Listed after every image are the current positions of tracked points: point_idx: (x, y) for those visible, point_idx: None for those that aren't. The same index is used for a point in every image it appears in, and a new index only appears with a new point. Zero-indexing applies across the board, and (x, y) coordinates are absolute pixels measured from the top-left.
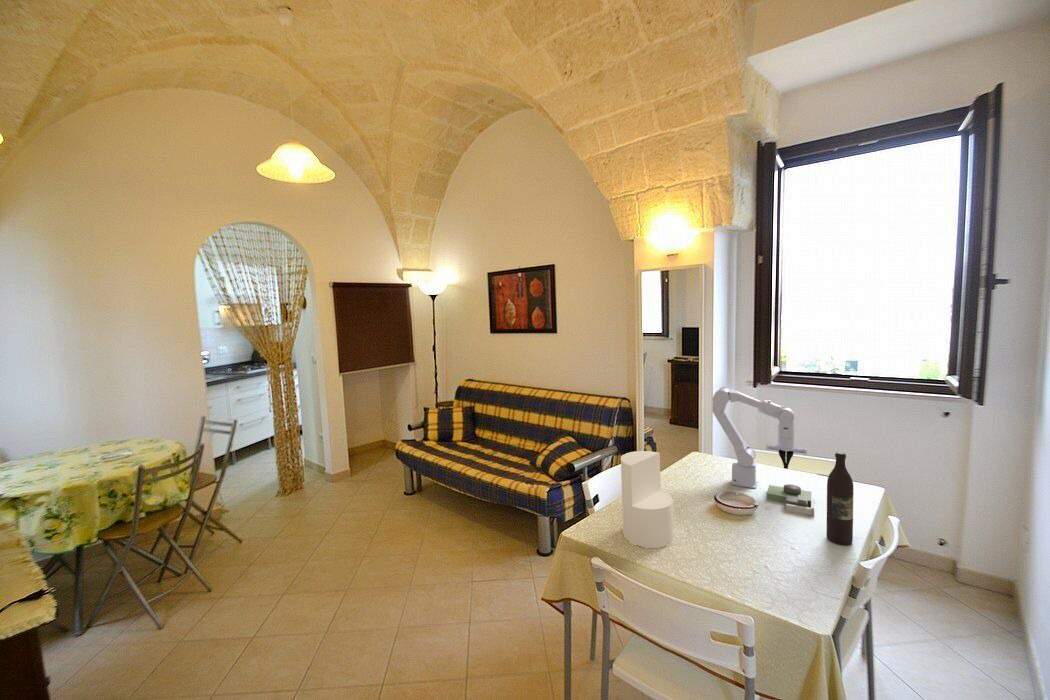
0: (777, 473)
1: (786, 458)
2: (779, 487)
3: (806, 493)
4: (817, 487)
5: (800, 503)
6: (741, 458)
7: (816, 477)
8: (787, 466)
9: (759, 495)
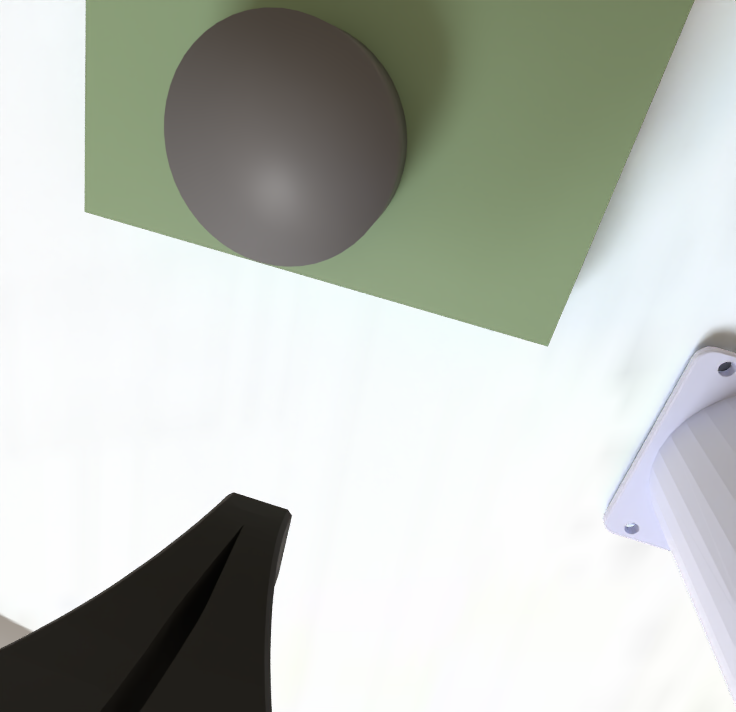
0: (350, 697)
1: (116, 684)
2: (432, 279)
3: (136, 137)
4: (75, 457)
5: None
6: None
7: None
8: (211, 520)
9: (731, 127)
